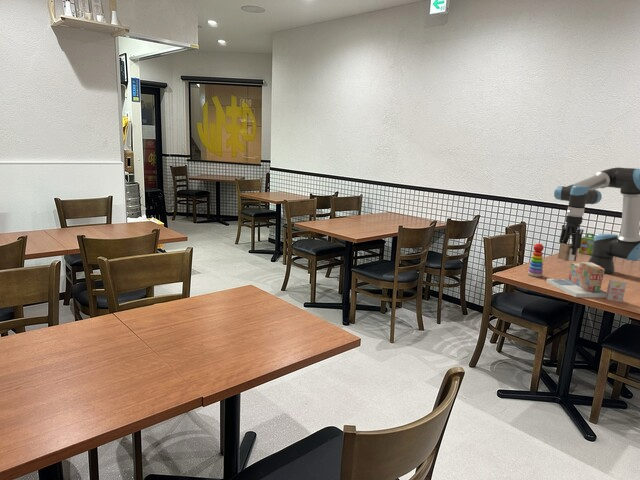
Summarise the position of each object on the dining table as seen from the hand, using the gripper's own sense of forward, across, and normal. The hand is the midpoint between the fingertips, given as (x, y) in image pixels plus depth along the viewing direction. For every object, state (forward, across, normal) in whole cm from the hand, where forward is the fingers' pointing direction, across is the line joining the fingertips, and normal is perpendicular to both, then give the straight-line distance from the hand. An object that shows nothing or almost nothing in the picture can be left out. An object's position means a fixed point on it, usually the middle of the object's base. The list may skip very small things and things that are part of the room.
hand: (566, 258), depth 234 cm
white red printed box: (+15, +21, +13) cm, 29 cm away
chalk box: (+15, -80, +75) cm, 111 cm away
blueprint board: (+15, +5, +5) cm, 17 cm away
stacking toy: (+15, -20, -3) cm, 25 cm away
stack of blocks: (+13, +4, +9) cm, 17 cm away
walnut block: (0, 0, 0) cm, 0 cm away
